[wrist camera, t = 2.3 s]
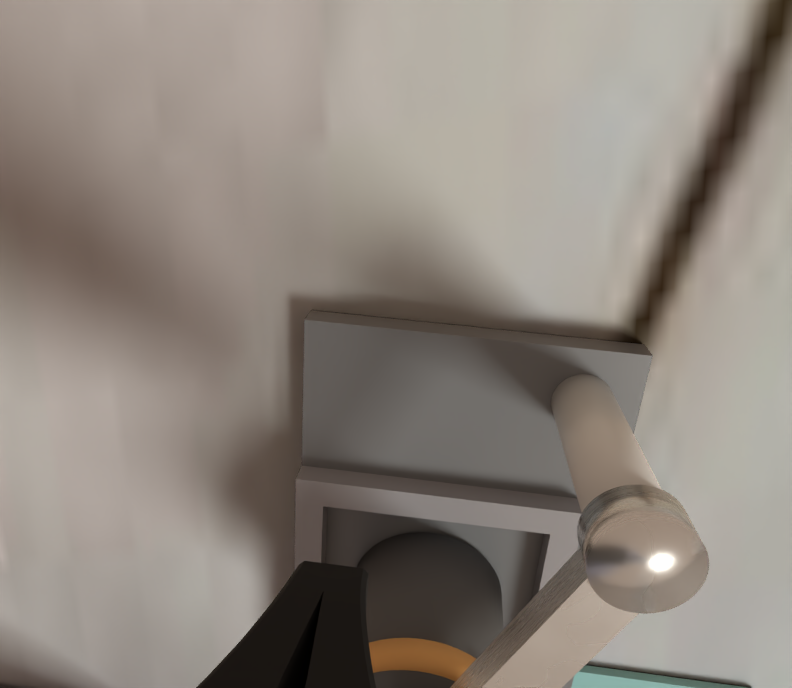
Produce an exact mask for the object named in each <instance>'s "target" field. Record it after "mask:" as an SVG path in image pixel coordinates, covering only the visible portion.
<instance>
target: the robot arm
mask: <svg viewBox="0 0 792 688" xmlns="http://www.w3.org/2000/svg"><path fill="white" fill-rule="evenodd" d="M368 576H369V574H368V573H367V571H366V570H365V569H364V568H357V567H350V566H342V565H334V564H326V563H319V562H311V561H303V562H302V563H300V564H299V565H298V567H297V568H296V570H295V571H294V573H293V574H292V576H291V577H290V579H289V580H288V582H287V583H286V584H285V586H284V587H283V589H282V590H281V591H280V593H279V594H278V595H277V597H276V598H275V599H274V601H273V602H272V603H271V604H270V606H269V607H268V608H267V610H266V611H265V612H264V613H263V615H262V616H261V617H260V618H259V619H258V621H257V622H256V623H255V624H254V625H253V627H252V628H251V629H250V630H249V631H248V633H247V634H246V635H245V636H244V637H243V639H242V640H241V641H240V642H239V643H238V644H237V645H236V646H235V648H234V649H233V650H232V651H231V652H230V653H229V654H228V655H227V656H226V657H225V658H224V659H223V660H222V662H221V663H220V664H219V665H218V666H217V667H216V668H215V669H214V670H213V671H212V672H211V673H210V674H209V675H208V676H207V677H206V678H205V679H204V680H203V681H202V682H201V683H200V684H199V685H198V686H197V687H196V688H376V685H375V680H374V674H373V669H372V663H371V656H370V648H369V641H368V633H367V622H366V605H367V591H368Z"/></svg>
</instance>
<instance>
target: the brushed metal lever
mask: <svg viewBox="0 0 792 688" xmlns="http://www.w3.org/2000/svg"><path fill="white" fill-rule="evenodd" d="M577 538H578V542H579V545H580V548H579V549H578V550H577V551H576V552H575V553H574V554H573V555H572V556H571V558H570V559H569V560H568V561H567V562H566V563H565V564H564V565H563V566H562V567H561V568H560V569H559V570H558V572H557V573H556V574H555V575H554V576H553V577H552V578H551V579H550V580H549V581H548V582H547V583H546V584H545V586H544V587H543V588H542V589H541V590H540V591H539V592H538V593H537V594H536V595H535V596H534V597H533V598H532V600H531V601H530V602H529V603H528V604H527V605H526V606H525V607H524V608H523V609H522V610H521V611H520V612H519V614H518V615H517V616H516V617H515V618H514V619H513V620H512V621H511V622H510V623H509V624H508V625H507V626H506V628H505V629H504V630H503V631H502V632H501V633H500V634H499V635H498V636H497V637H496V638H495V639H494V640H493V642H492V643H491V644H490V645H489V646H488V647H487V648H486V649H485V650H484V651H483V652H482V653H481V654H480V655H479V657H478V658H477V659H476V660H475V661H474V662H473V663H472V664H471V665H470V666H469V667H468V668H467V669H466V671H465V672H464V673H463V674H462V675H461V676H460V677H459V678H458V679H457V680H456V681H455V682H454V683H453V685H452V686H451V687H450V688H562V687H563V686H564V685H565V684H566V683H567V682H568V681H569V680H570V679H571V678H572V677H573V676H574V675H575V674H576V673H578V672H579V671H580V670H581V669H582V668H583V667H584V666H585V665H586V664H587V663H588V662H589V661H590V660H591V659H592V658H593V657H594V656H595V655H596V654H597V653H598V652H599V651H600V650H601V649H603V648H604V647H605V646H606V645H607V644H608V643H609V642H610V641H611V640H612V639H613V638H614V637H615V636H616V635H617V634H618V633H619V632H620V631H621V630H622V629H623V628H624V627H625V626H626V625H628V624H629V623H630V622H631V621H632V620H633V619H634V618H635V617H636V616H637V615H638V614H639V613H657V612H662V611H666V610H669V609H672V608H675V607H677V606H679V605H681V604H683V603H684V602H686V601H688V600H689V599H690V598H691V597H693V596H694V595H695V594H696V593H697V592H698V591H699V589H700V588H701V587H702V585H703V584H704V582H705V580H706V577H707V574H708V570H709V558H708V553H707V551H706V548H705V546H704V544H703V543H702V541H701V539H700V537H699V535H698V533H697V531H696V530H695V528H694V526H693V524H692V522H691V520H690V518H689V517H688V515H687V513H686V511H685V509H684V508H683V506H682V505H681V503H680V502H679V501H678V500H677V499H676V498H675V497H673V496H672V495H671V494H669V493H667V492H665V491H664V490H661V489H659V488H656V487H652V486H647V485H625V486H620V487H616V488H613V489H610V490H608V491H606V492H604V493H602V494H600V495H599V496H597V497H596V498H595V499H593V500H592V501H591V502H590V503H589V504H588V505H587V506H586V508H585V509H584V510H583V512H582V514H581V516H580V518H579V521H578V526H577Z"/></svg>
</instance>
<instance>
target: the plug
mask: <svg viewBox="0 0 792 688" xmlns="http://www.w3.org/2000/svg"><path fill="white" fill-rule="evenodd" d="M357 568H364V569H365V570H366V571H367V573H368V574H369V576H368V591H367V605H366V622H367V633H368V641H369V648H370V656H371V663H372V669H373V674H374V680H375V685H376V688H450V687H451V686H452V685H453V683H454V682H455V681H456V680H457V679H458V678H459V677H460V676H461V675H462V674H463V673H464V672H465V671H466V669H467V668H468V667H469V666H470V665H471V664H472V663H473V662H474V661H475V660H476V659H477V658H478V657H479V655H480V654H481V653H482V652H483V651H484V650H485V649H486V648H487V647H488V646H489V645H490V644H491V643H492V642H493V640H494V639H495V638H496V637H497V636H498V635H499V634H500V633H501V632H502V631H503V630H504V628H503V610H502V593H501V585H500V582H499V578H498V576H497V574H496V572H495V570H494V569H493V567H492V566H491V564H490V563H489V562H488V561H487V560H486V558H485V557H484V556H483V555H481V554H480V553H479V552H478V551H477V550H475V549H474V548H472V547H471V546H469V545H468V544H466V543H464V542H462V541H460V540H457V539H455V538H452V537H449V536H445V535H441V534H436V533H427V532H413V533H405V534H400V535H396V536H393V537H390V538H388V539H385V540H383V541H381V542H379V543H378V544H376V545H375V546H373V547H372V548H371V549H369V550H368V551H367V552H366V553H365V554H364V556H363V557H362V558H361V560H360V561H359V563H358V565H357Z"/></svg>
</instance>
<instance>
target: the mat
mask: <svg viewBox="0 0 792 688" xmlns="http://www.w3.org/2000/svg"><path fill="white" fill-rule="evenodd" d="M571 688H748V687H741V686H733V685H726V684H719V683H712V682H704V681H697V680H690V679H683V678H675V677H668V676H661V675H653V674H646V673H639V672H632V671H624V670H617V669H610V668H603V667H595V666H588V665H585V666H584V667H583V668H582V669H581V670H580V671H579V672H578V673H576V674H575V675H574V679H573V683H572V687H571Z"/></svg>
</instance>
